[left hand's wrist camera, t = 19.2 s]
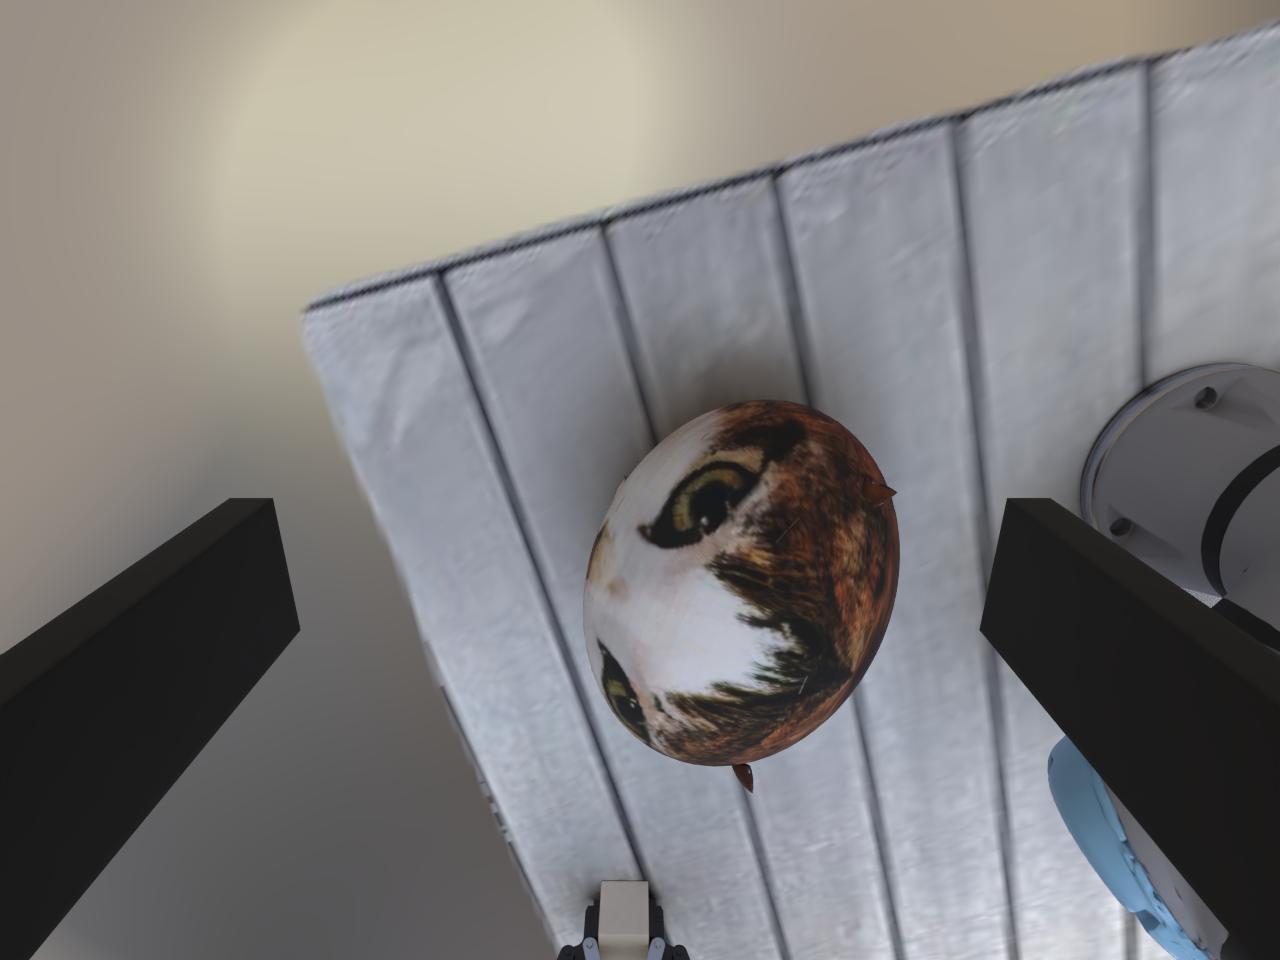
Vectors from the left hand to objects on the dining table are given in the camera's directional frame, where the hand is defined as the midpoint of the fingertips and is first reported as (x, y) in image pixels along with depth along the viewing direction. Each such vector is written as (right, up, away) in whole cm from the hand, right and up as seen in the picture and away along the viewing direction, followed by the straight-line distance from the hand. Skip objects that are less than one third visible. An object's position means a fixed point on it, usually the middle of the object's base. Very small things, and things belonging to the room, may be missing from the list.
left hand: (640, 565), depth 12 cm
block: (-1, -36, +50) cm, 61 cm away
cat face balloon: (+6, -1, +36) cm, 36 cm away
